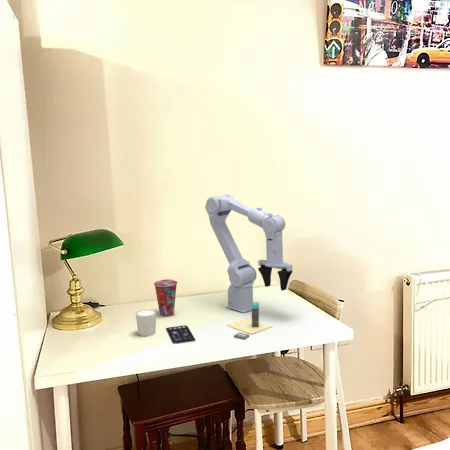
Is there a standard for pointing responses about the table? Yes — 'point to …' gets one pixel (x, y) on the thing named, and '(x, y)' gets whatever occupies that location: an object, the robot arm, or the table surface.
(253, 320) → the marker
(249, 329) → the note pad
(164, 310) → the cup
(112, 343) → the table surface
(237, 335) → the word tile
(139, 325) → the white short cylinder
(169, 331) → the smartphone
